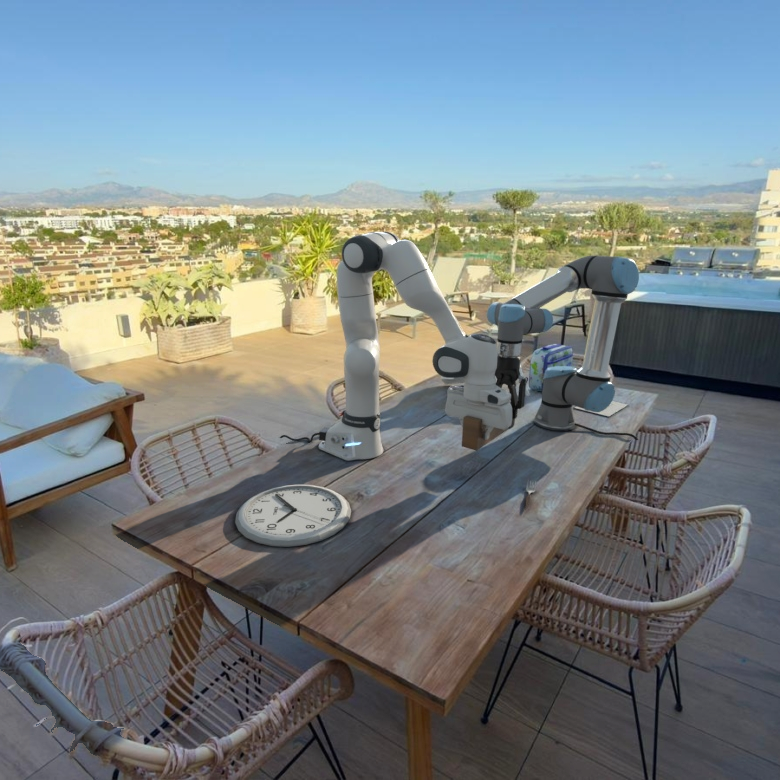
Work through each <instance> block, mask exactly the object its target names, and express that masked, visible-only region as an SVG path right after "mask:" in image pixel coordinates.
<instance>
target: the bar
mask: <svg viewBox="0 0 780 780" xmlns="http://www.w3.org/2000/svg"><path fill="white" fill-rule="evenodd" d="M508 402H510V404H511V399H510V400H509V401H508ZM515 421H516V418H515V419H514V424H515ZM487 430H488V429H486V425H483V424H482V419H479V418H475V417H471V416H465V417H463V427H462V433H461V434H462V436H461V447H463V448H465V449H468V450H473V451H478V450H480V449H481V448H483V447H485V446H486V445H487V444H489V443H490V442H492V441H493V440H495V439H496V438H498V437H499V436H501V435H503V434H504V433H505V432H507V431H508V430H509V429H508V428H507V429H505V430H502V429H498V428H495V427H494V428H493V429H492V431H491V432H490V435H489V439H483V438H482V434H483V433H484V432H485V431H487Z"/></svg>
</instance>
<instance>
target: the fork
mask: <svg viewBox="0 0 780 780" xmlns="http://www.w3.org/2000/svg"><path fill="white" fill-rule="evenodd" d="M536 483H537V480H536V479H535V480H534V482H532V479H530V481H529V478H527V482H526V487H525V492H526V493H528V495H527V496H526V497H525V510H526V511H527V509H528V507H529V504H530V502H531V494H532V493H535V491H536Z"/></svg>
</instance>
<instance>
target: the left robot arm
mask: <svg viewBox="0 0 780 780" xmlns="http://www.w3.org/2000/svg"><path fill="white" fill-rule="evenodd" d="M336 269H337V271H336V291H337V301H338V309H339V316H340V323H341V326H342V331H343V337H344V340H345V352H344V354H343V373H344V375H343V376H344V386H345V409H344V410H343V411H342V412H339V413H338V418H340V417H341V419H340V420H339V421H338V422H336V423H334V424H333V425H332V426H330V427H326V426H325V427H323V428H322V429H320V430H319V432H315V433H313V434H312V435H311V437H308V436H303V437H300V438H292V437H290V436H289V435H287V434H281V436H279V439H282V438H286V439H288V440H290V441H293V442H299V441H302V440H303V441H304V440H307V441H308V442H309V443H312V442H313V440H314V438H315V437H316V436H318V439H319V441H320V443H319V444H318V450H321V451H323V452H326V453H328V454H330V455H332V456H335V457H337V458H340V459H342V460H344V461H347V462H351V461H355V460H371V459H373V458H377V457H379V456H381V455H382V454H383V453H384V448H383V443H382V438H381V430H380V429H381V410H380V355H381V346H380V337H379V329H378V324H377V323H378V322H377V316H376V306H375V297H374V288H373V276H374V275H375V273H376V272H382V271H385V272H386V273H387V274H388V275H389V276H390V279H391V281H392V282H393V285H394V286H395V289H396V292H397V294H398V296H399V297H400V298H401V300H402V301H403V302H404V304H405V306H407V307H409V308H411V309H413V310H416V311H419V312H421V313H424V314H425V315H427V316H428V317H429V318H430V319H432V321H433V323H434V324H435V326H436V328H437V330H438V332H439V333H440V335H441V337H442V339H443V340H444V343H445V344H444V345H442V346H440V347H439V348H437V349H436V350H435V352H434V353H433V355H432V360H431V361H432V366H433V369H434V371H435V372H436V373H437V374H438V375H439V376H440V375H441V376H442V377H446V378H457V377H464V383H463V387H462V386H458V385H451V386H449V387H448V388H447V392H446V397H447V398H446V401H445V408H444V412H445V415H446V416H448V417H452V418H455V419H460V420H459V423H460V425H461V427H462V428H463V417H465V416H471V417H475V418H479V419H482V424H483V425H486V429H488V430H487V431H485V432H484V433H483V434H482V438H483V439H489V435H490V432H491V431H492V429H493V428H494V427H495V428H498V429H502V430H505V429H507V428H509V427H510V426H511V424H512V406H511V404H510V402H508V401H509V400H510V399H511V394H510V393H509V391H507V390H505V389H503V387H502V388H500V387H498V386H497V385H496V382H497V379H496V376H495V371H496V369H497V341H496V340H495V338H493V337H491V336H490V335H487V334H484V333H472V334H470V335H468V334H467V333H466V332H465V331H464V329H463V327H462V326H461V324H460V322H459V321H458V319H457V317H456V315H455V313H454V312H453V310H452V308H451V306H450V305H449V303H448V301H447V300H446V298H445V296H444V294H443V292H442V291H441V289H440V287H439V285H438V283H437V281H436V279H435V277H434V275H433V272H432V271H431V269H430V267H429V264H428V262H427V261H426V259H425V257H424V256H423V254H422V253H421V251H420V249H419V248H418V246H417V245H416V244H415V243H414V242H413V241H411V240H408V239H400V238H399V236H397V235H396V234H394V233H393V232H390V231H370V232H367V233H363V234H357V235H354V236H351V237H350V238H349V239H347V240H346V241H345V242H344V244H343V246H342V249H341V261H340V262H339V264H338V265H337V268H336ZM441 376H440V377H441Z"/></svg>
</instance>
